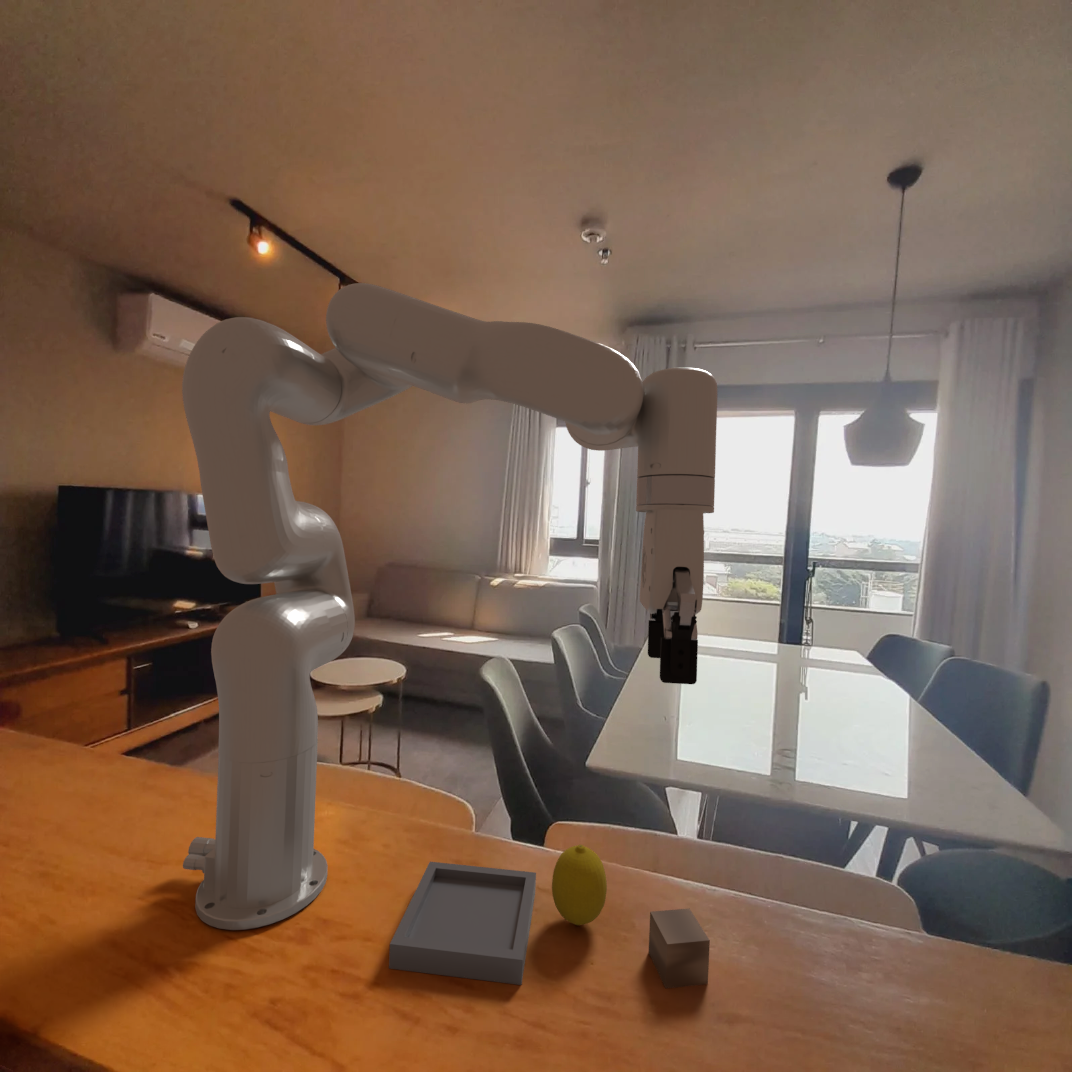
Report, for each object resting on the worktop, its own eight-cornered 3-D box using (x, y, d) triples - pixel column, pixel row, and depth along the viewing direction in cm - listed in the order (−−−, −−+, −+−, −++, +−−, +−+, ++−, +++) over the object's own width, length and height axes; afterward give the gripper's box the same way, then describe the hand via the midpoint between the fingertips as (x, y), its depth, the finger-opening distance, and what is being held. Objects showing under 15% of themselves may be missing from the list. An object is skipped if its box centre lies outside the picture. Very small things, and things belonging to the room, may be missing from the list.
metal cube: (665, 989, 46) (667, 944, 46) (648, 953, 50) (650, 911, 50) (707, 984, 47) (709, 940, 47) (687, 949, 51) (689, 908, 51)
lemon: (600, 905, 56) (603, 831, 56) (609, 945, 51) (612, 863, 51) (548, 904, 56) (551, 829, 56) (552, 945, 51) (555, 862, 51)
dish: (388, 968, 47) (389, 943, 47) (429, 881, 59) (429, 861, 59) (521, 984, 46) (522, 960, 46) (535, 892, 58) (536, 872, 58)
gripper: (629, 502, 62) (625, 648, 62) (645, 489, 44) (639, 692, 44) (695, 503, 61) (691, 652, 61) (738, 491, 44) (731, 698, 44)
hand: (669, 669), depth 53 cm, fingers open, 9 cm apart
